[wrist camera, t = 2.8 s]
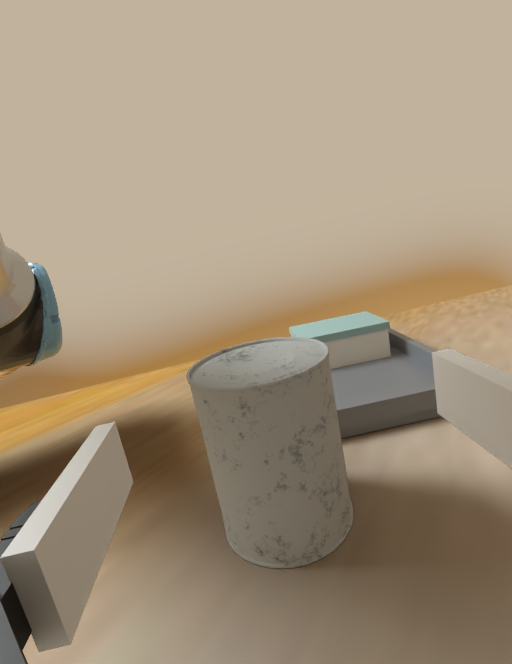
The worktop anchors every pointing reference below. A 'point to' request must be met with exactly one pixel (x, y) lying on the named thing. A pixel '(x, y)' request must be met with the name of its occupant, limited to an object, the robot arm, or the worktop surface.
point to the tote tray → (386, 389)
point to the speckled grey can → (274, 449)
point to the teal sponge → (349, 337)
